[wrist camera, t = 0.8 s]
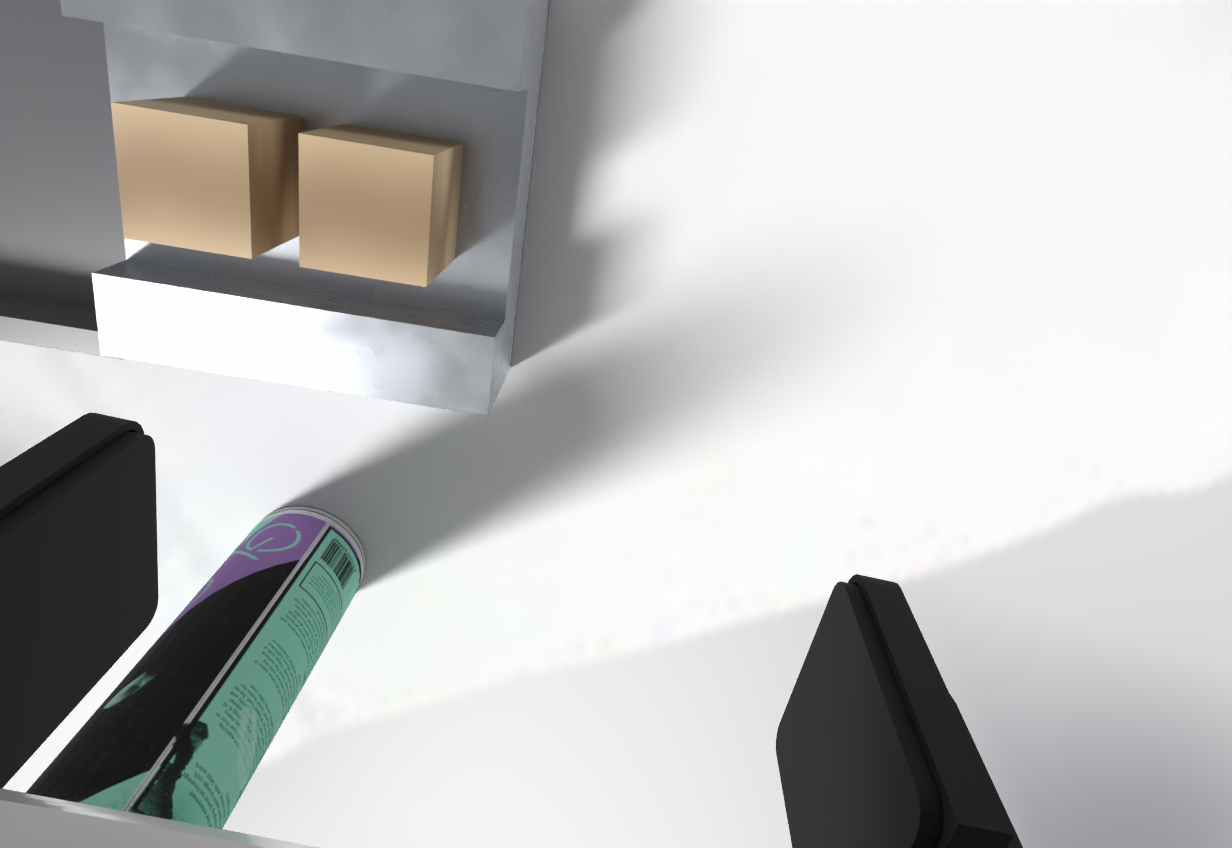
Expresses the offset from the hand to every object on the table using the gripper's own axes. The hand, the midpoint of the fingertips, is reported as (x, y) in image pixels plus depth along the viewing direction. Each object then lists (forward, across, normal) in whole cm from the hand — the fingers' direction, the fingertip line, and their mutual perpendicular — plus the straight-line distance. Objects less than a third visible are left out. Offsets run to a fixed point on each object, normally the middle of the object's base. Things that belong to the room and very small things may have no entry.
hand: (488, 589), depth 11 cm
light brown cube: (+20, +7, -1) cm, 21 cm away
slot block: (+23, +10, -1) cm, 25 cm away
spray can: (+23, +10, +17) cm, 31 cm away
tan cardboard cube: (+20, +12, 0) cm, 23 cm away
